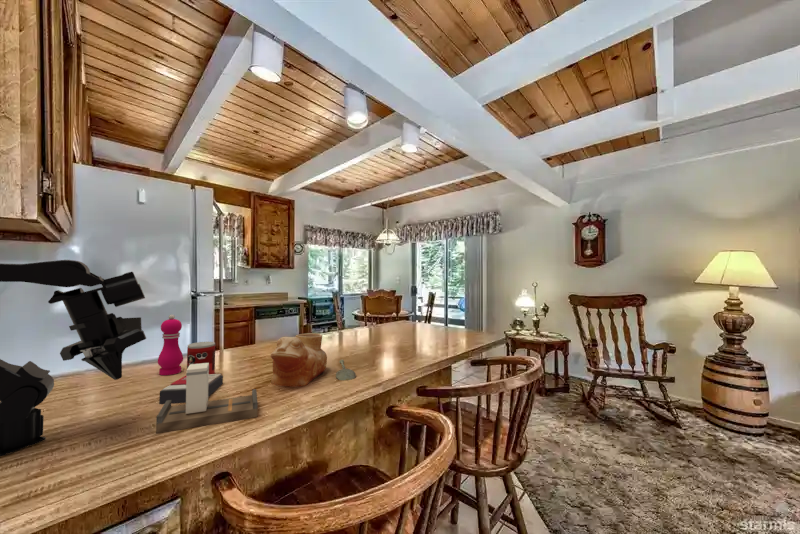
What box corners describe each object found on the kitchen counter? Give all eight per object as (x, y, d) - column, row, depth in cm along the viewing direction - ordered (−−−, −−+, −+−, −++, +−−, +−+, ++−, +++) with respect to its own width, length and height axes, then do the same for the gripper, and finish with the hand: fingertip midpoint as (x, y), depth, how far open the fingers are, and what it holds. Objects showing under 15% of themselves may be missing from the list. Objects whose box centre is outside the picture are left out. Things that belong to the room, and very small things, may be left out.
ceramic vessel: (256, 389, 98) (257, 339, 98) (298, 365, 124) (299, 325, 124) (299, 393, 96) (300, 341, 96) (333, 367, 121) (334, 327, 122)
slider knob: (185, 414, 75) (186, 370, 75) (188, 405, 80) (189, 364, 80) (206, 411, 77) (206, 368, 77) (208, 403, 82) (209, 362, 82)
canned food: (180, 379, 106) (181, 345, 106) (202, 372, 114) (203, 340, 114) (199, 382, 104) (200, 347, 104) (220, 374, 112) (220, 342, 112)
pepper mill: (169, 376, 109) (171, 316, 110) (151, 375, 111) (153, 315, 111) (188, 370, 116) (189, 313, 117) (170, 369, 118) (172, 313, 118)
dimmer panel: (156, 433, 71) (156, 416, 71) (166, 415, 80) (166, 400, 80) (257, 416, 79) (257, 402, 80) (256, 402, 88) (256, 388, 89)
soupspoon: (335, 384, 106) (356, 384, 108) (336, 374, 106) (356, 373, 108) (333, 363, 128) (350, 363, 129) (333, 355, 128) (350, 355, 129)
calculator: (223, 372, 104) (204, 386, 89) (223, 386, 103) (204, 402, 89) (184, 374, 102) (159, 388, 87) (184, 388, 101) (158, 405, 87)
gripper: (154, 296, 77) (179, 356, 80) (101, 308, 82) (126, 364, 85) (102, 314, 66) (133, 382, 69) (45, 327, 72) (75, 390, 75)
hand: (118, 378), depth 75 cm, fingers closed
